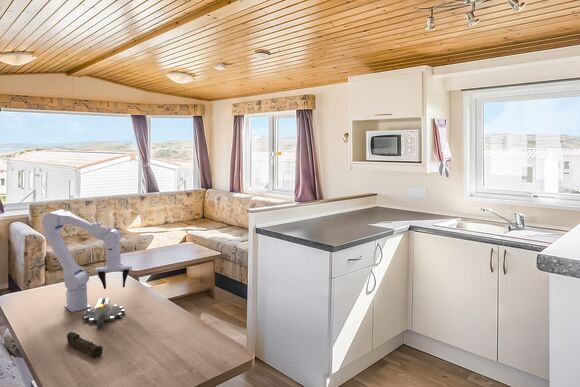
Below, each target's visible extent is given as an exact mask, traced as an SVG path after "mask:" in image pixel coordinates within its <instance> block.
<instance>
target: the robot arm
mask: <svg viewBox="0 0 580 387" xmlns="http://www.w3.org/2000/svg"><path fill="white" fill-rule="evenodd" d="M41 224H42V226H43V234H44V237H45V239H46V241H47V243H48V244H49V246H50V247H51V250H52V251H53V253H54V255H55V257H56V259H57V261H58V262H59V264H60V265H61V268H62V269H63V275H62V278H63V280H64V286H65V288H66V292H65V293H66V294H65V296H66V304H65V305H64V308H66V309H67V310H69V311H70V312H72V313H75V312H78V311H82V310H86V309H89V308H91V307H92V305H90V304H89V303H88V286H87V284H88V282H89V280H90V274H89V273H88V272H87V271H86V270H85V269H84V268H83V266H81V265H79V264H77V262H76V260H75V258H74V256H73V255H72V253H71V251H70V249H69V247H68V245H67V244H66V242H65V240H64V239H63V236H62V235H61V231H62V229H63V227H64V226H65V225H72V226H74V227H77V228H79V229H82V230H85V231H87V233H88V235H89V236H92V237H95V238H96V239H99V240H101V241H103V243H104V244H105V260H106V261H105V265H106V266H99V267H95V268H94V269H95V270H94V271H95V272H94V273H95V274H97V277H98V278H99V280H100V281H101V283H102V286H103V290H106V289H107V281H106V276H107V274H106V273H113V272H122V288H126V287H125V286H126V281H127V277H128V275H129V272H130V271H132V269H133V268H132V267H133V266H132V265H127V264H126V265H124V264H121V263H122V262H121V258H122V257H121V240H122V237H123V234H122V231H120V230H119V229H118V228H112V227H110V226H105V225H103V224H102V223H101V222H100V221H97V222H89V221H87V220H86V219H83V218H81V217H79V216H77V215H75V214H73V213H72V212H71V211H69V210H68V211H67V210H65V209H62V208H61V209H58V210H56V211H52V212H47V213H45V214H44V216H43V217H42V220H41Z"/></svg>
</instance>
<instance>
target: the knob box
mask: <svg viewBox="0 0 580 387" xmlns="http://www.w3.org/2000/svg"><path fill="white" fill-rule="evenodd" d="M106 298H107V297H106ZM110 305H111V304H110V298H109V297H108V298H107V299H105V298H99V299H98V301H97V303H96V306H95V307H96V308H95V311H96V320H103V319H107V317H108V313H109V310H110Z"/></svg>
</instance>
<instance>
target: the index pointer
mask: <svg viewBox="0 0 580 387" xmlns="http://www.w3.org/2000/svg"><path fill="white" fill-rule="evenodd" d="M104 323H105V322H103V320H98V321H97V322H96V330H103V329H104V325H105V324H104Z"/></svg>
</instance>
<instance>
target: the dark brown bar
mask: <svg viewBox="0 0 580 387" xmlns="http://www.w3.org/2000/svg"><path fill="white" fill-rule="evenodd" d="M66 338H67V340H66V341H67V344H68V345H69V346H71V348H73V349H75V348H77V349H78V351H79V350H80V351H82V352H84V353H85V354H87V355H89V356H90V357H91V358H92V359H93V360H94V359H97V358H99V357H101V356H102V354H103V346H102V345H98V344H95V343H94V342H93V341H88V340H87V339H84V338H82V337H81V336H80V334H78V333H77V332H73V331H69V332H68V333H67V334H66Z"/></svg>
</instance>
